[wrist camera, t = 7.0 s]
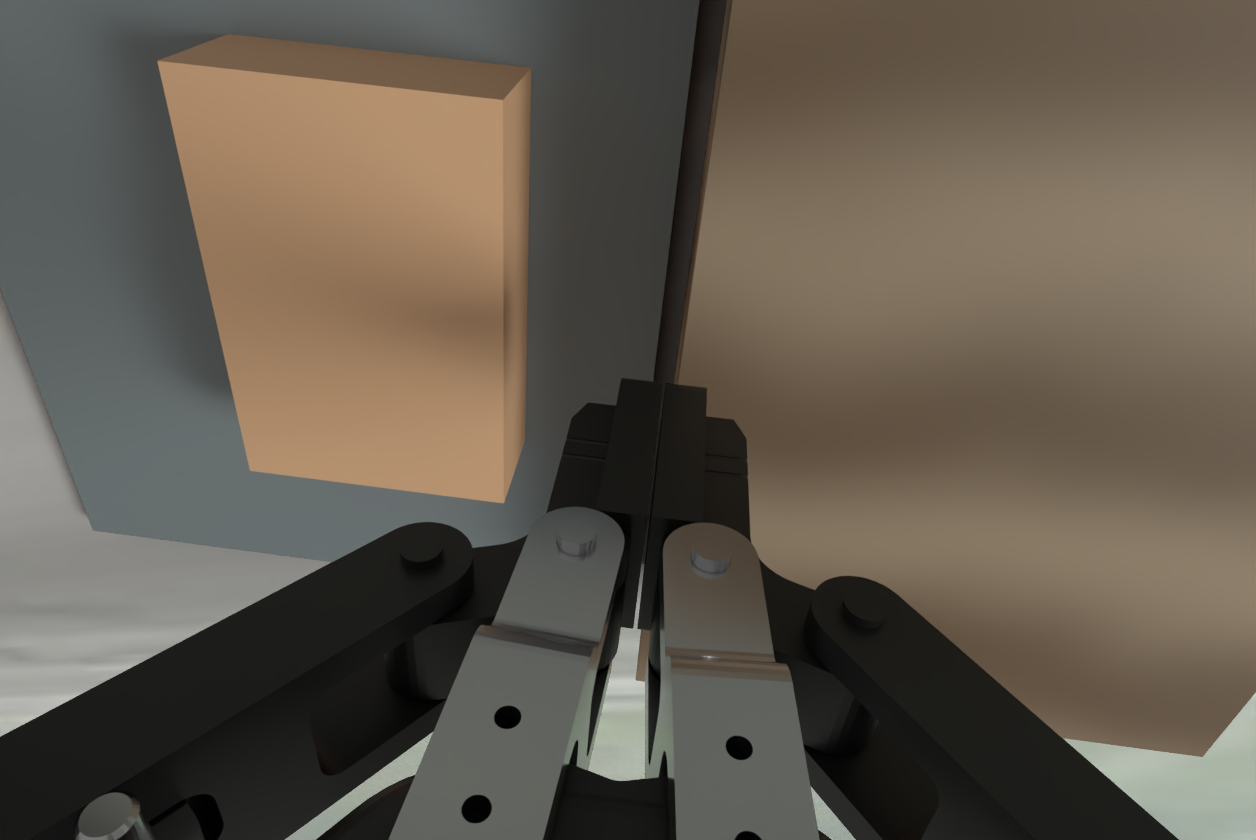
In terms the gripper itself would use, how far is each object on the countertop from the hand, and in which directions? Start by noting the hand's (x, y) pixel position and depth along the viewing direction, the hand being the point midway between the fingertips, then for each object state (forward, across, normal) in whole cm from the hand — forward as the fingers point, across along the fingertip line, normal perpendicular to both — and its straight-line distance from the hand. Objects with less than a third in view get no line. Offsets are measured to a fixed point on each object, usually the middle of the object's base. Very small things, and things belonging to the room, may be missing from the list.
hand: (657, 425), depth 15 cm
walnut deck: (+5, -7, 0) cm, 9 cm away
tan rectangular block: (+4, +6, 0) cm, 7 cm away
